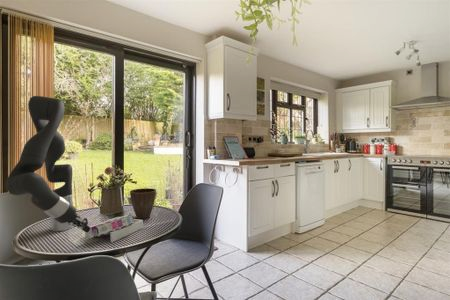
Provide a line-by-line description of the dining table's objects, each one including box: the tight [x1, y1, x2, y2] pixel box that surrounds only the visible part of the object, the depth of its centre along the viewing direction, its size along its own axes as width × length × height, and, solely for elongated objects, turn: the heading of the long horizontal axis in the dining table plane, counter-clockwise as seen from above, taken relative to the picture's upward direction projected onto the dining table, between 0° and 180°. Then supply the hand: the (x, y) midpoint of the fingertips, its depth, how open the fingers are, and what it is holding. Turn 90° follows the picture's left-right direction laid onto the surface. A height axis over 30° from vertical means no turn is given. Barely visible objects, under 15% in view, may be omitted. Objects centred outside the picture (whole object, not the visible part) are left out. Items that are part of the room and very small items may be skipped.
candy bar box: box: [91, 213, 135, 238], centre depth 116 cm, size 11×5×16 cm
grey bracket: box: [84, 216, 144, 243], centre depth 120 cm, size 17×20×4 cm
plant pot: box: [129, 187, 157, 220], centre depth 145 cm, size 15×15×16 cm
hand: (88, 230), depth 106 cm, fingers closed
